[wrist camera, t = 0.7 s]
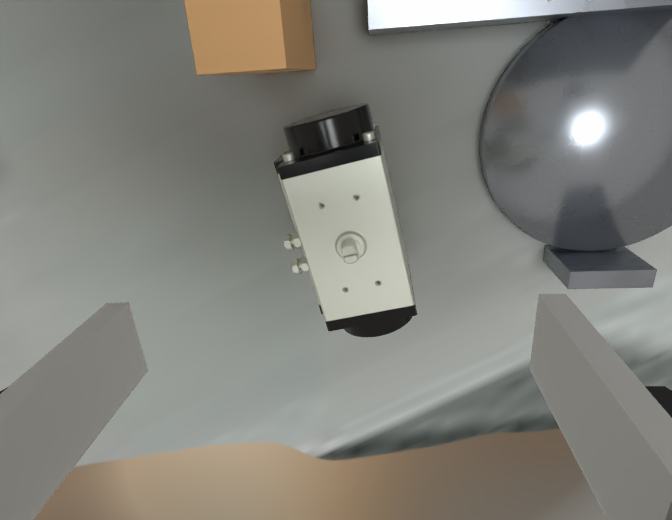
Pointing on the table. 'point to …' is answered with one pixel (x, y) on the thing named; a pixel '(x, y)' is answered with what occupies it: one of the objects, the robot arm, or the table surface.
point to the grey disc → (586, 144)
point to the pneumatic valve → (346, 222)
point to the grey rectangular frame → (489, 12)
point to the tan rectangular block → (251, 36)
